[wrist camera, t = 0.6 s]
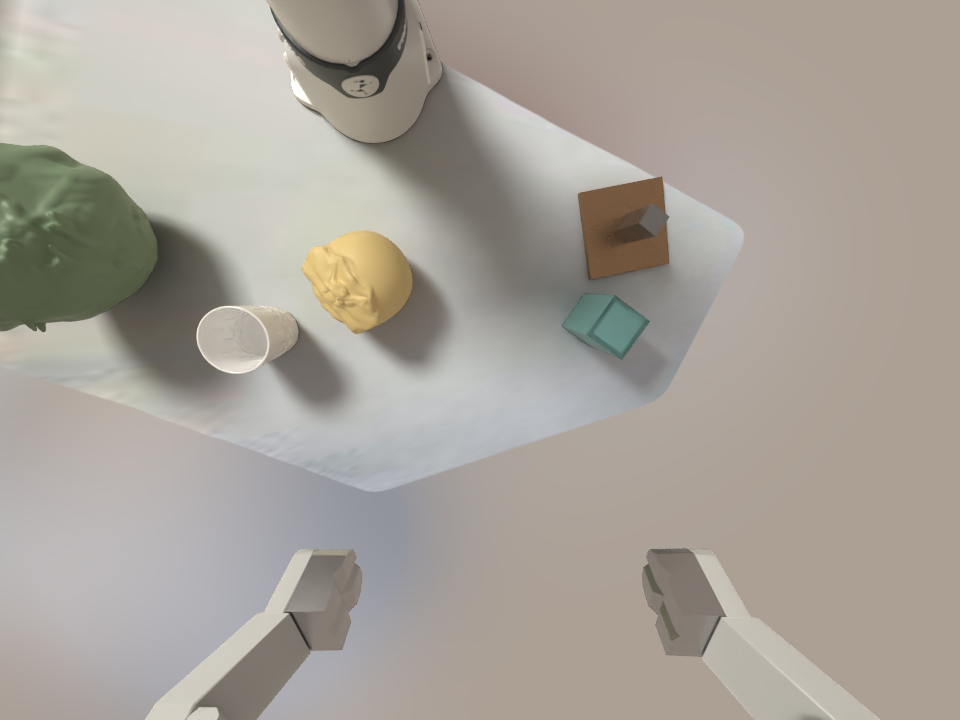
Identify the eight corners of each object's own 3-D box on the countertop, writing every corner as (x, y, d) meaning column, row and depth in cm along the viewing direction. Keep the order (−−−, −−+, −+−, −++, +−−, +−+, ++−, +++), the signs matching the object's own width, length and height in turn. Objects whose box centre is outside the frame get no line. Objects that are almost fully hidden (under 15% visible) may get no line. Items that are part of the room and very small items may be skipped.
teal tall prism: (561, 326, 54) (586, 334, 44) (584, 293, 53) (614, 295, 44) (591, 346, 55) (622, 359, 45) (613, 314, 55) (649, 321, 45)
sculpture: (310, 272, 50) (274, 268, 39) (379, 219, 49) (360, 201, 38) (364, 338, 52) (343, 351, 41) (430, 288, 51) (426, 289, 41)
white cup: (285, 293, 50) (246, 294, 40) (313, 344, 51) (282, 357, 42) (233, 315, 50) (181, 323, 40) (263, 366, 51) (220, 384, 42)
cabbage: (203, 200, 47) (27, 138, 27) (175, 336, 50) (-1, 369, 30) (70, 152, 44) (-228, 47, 25) (49, 298, 47) (-231, 307, 28)
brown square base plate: (543, 246, 52) (560, 238, 44) (613, 140, 49) (644, 112, 42) (631, 311, 55) (662, 315, 47) (701, 214, 53) (745, 201, 45)
